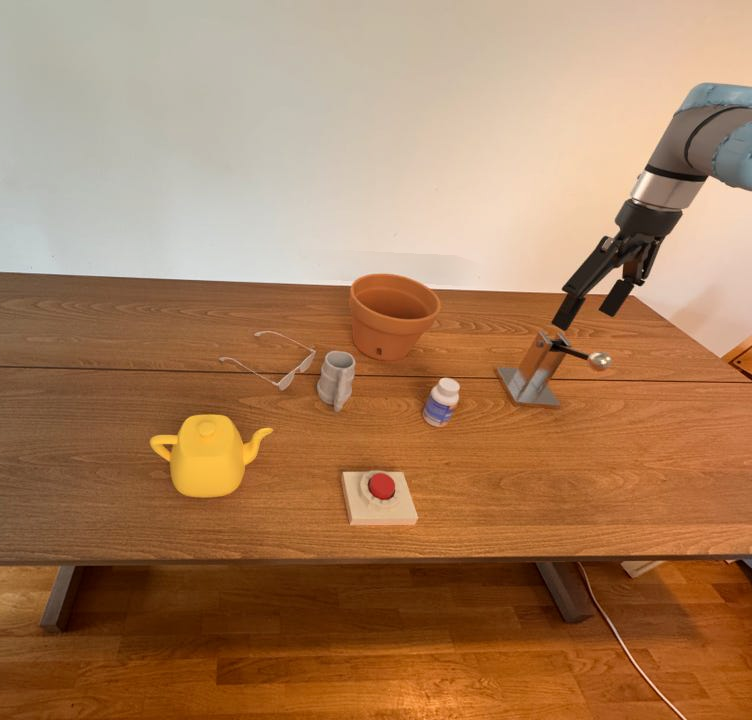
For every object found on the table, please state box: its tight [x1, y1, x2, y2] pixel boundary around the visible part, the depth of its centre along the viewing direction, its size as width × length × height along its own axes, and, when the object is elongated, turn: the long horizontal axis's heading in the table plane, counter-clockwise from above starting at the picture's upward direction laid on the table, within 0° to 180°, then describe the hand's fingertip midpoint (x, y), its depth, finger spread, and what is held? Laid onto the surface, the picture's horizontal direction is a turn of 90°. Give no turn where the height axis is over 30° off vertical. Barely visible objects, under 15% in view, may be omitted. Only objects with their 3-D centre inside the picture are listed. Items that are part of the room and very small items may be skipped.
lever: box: [548, 337, 613, 372], centre depth 83 cm, size 17×4×4 cm, turn 177°
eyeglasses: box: [218, 330, 317, 391], centre depth 99 cm, size 15×18×4 cm
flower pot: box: [348, 273, 442, 362], centre depth 104 cm, size 21×21×15 cm
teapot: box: [149, 414, 274, 499], centre depth 71 cm, size 13×20×12 cm
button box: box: [340, 470, 419, 526], centre depth 72 cm, size 11×9×4 cm
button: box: [369, 473, 395, 499], centre depth 70 cm, size 4×4×2 cm
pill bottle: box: [422, 377, 461, 428], centre depth 86 cm, size 5×5×10 cm
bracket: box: [494, 330, 573, 410], centre depth 93 cm, size 12×10×15 cm
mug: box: [316, 350, 356, 413], centre depth 88 cm, size 8×12×12 cm, turn 178°
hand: (583, 319), depth 78 cm, fingers open, 13 cm apart
